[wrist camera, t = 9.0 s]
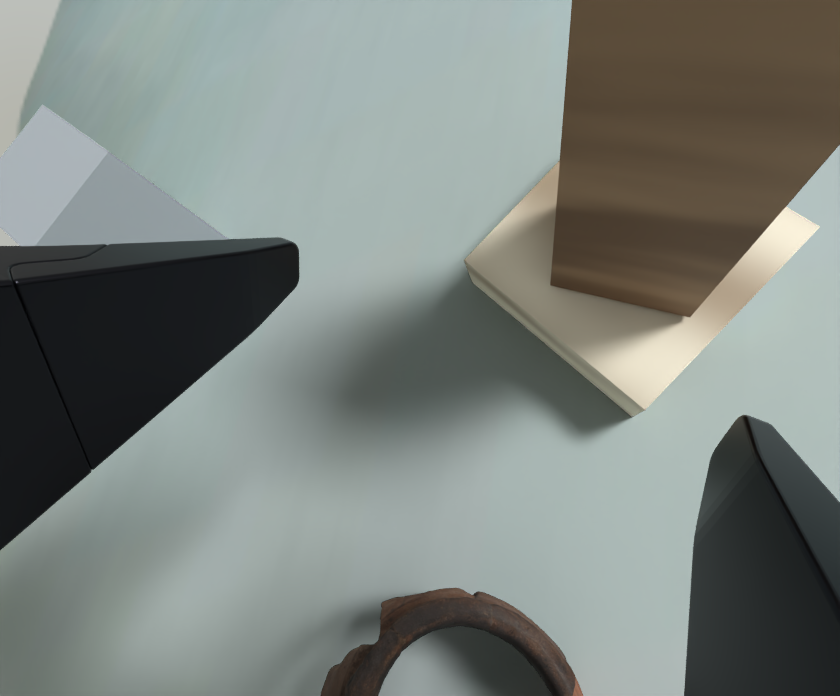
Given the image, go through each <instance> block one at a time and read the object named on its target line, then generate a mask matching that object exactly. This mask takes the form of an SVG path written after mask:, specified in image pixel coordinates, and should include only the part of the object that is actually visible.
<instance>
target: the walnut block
mask: <svg viewBox="0 0 840 696" xmlns="http://www.w3.org/2000/svg"><path fill="white" fill-rule="evenodd" d="M839 145H840V0H572V9H571V22H570V35H569V48H568V61H567V74H566V87H565V100H564V113H563V126H562V139H561V152H560V165H559V178H558V191H557V204H556V217H555V230H554V243H553V256H552V268H551V281H550V285H551V286H555V287H559V288H564V289H568V290H572V291H577V292H581V293H585V294H590V295H594V296H598V297H603V298H607V299H611V300H616V301H620V302H624V303H629V304H633V305H637V306H642V307H646V308H651V309H655V310H659V311H664V312H668V313H672V314H677V315H681V316H685V317H691V316H692V315H693V313H694V312H695V311H696V310H697V309H698V308H699V306H700V305H701V304H702V303H703V302H704V301H705V300H706V298H707V297H708V296H709V295H710V294H711V293H712V291H713V290H714V289H715V288H716V287H717V286H718V285H719V283H720V282H721V281H722V280H723V279H724V278H725V276H726V275H727V274H728V273H729V272H730V271H731V269H732V268H733V267H734V266H735V265H736V264H737V263H738V261H739V260H740V259H741V258H742V257H743V256H744V254H745V253H746V252H747V251H748V250H749V249H750V248H751V246H752V245H753V244H754V243H755V242H756V241H757V239H758V238H759V237H760V236H761V235H762V234H763V233H764V231H765V230H766V229H767V228H768V227H769V226H770V224H771V223H772V222H773V221H774V220H775V219H776V217H777V216H778V215H779V214H780V213H781V212H782V211H783V209H784V208H785V207H786V206H787V205H788V204H789V202H790V201H791V200H792V199H793V198H794V197H795V196H796V194H797V193H798V192H799V191H800V190H801V189H802V187H803V186H804V185H805V184H806V183H807V182H808V180H809V179H810V178H811V177H812V176H813V175H814V174H815V172H816V171H817V170H818V169H819V168H820V167H821V165H822V164H823V163H824V162H825V161H826V160H827V159H828V157H829V156H830V155H831V154H832V153H833V152H834V150H835V149H836V148H837V147H838V146H839Z"/></svg>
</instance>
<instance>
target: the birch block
mask: <svg viewBox="0 0 840 696" xmlns="http://www.w3.org/2000/svg"><path fill="white" fill-rule="evenodd" d="M559 165H560V161H559V162H558V163H557V164H556V165H555V166H554V167H553V168H552V169H551V170H550V171H549V172H548V173H547V174H546V175H545V176H544V177H543V178H542V179H541V180H540V181H539V183H538V184H537V185H536V186H535V187H534V188H533V189H532V190H531V191H530V192H529V193H528V194H527V195H526V196H525V197H524V198H523V199H522V200H521V201H520V202H519V203H518V204H517V205H516V206H515V207H514V209H513V210H512V211H511V212H510V213H509V214H508V215H507V216H506V217H505V218H504V219H503V220H502V221H501V222H500V223H499V224H498V225H497V226H496V227H495V228H494V229H493V230H492V231H491V232H490V233H489V235H488V236H487V237H486V238H485V239H484V240H483V241H482V242H481V243H480V244H479V245H478V246H477V247H476V248H475V249H474V250H473V251H472V252H471V253H470V254H469V255H468V256H467V257H466V258H465V259H464V261H465V264H466V267H467V269H468V272H469V275H470V277H471V280H472V282H473V283H474V284H475V285H476V286H477V287H479V288H480V289H481V290H482V291H483V292H484V293H486V294H487V295H488V296H489V297H490V298H492V299H493V300H494V301H495V302H496V303H497V304H499V305H500V306H501V307H502V308H503V309H505V310H506V311H507V312H508V313H509V314H511V315H512V316H513V317H514V318H515V319H516V320H518V321H519V322H520V323H521V324H522V325H524V326H525V327H526V328H527V329H528V330H529V331H531V332H532V333H533V334H534V335H535V336H537V337H538V338H539V339H540V340H541V341H543V342H544V343H545V344H546V345H547V346H548V347H550V348H551V349H552V350H553V351H554V352H556V353H557V354H558V355H559V356H560V357H561V358H563V359H564V360H565V361H566V362H567V363H569V364H570V365H571V366H572V367H573V368H575V369H576V370H577V371H578V372H579V373H580V374H582V375H583V376H584V377H585V378H586V379H588V380H589V381H590V382H591V383H592V384H593V385H595V386H596V387H597V388H598V389H599V390H601V391H602V392H603V393H604V394H605V395H607V396H608V397H609V398H610V399H611V400H612V401H614V402H615V403H616V404H617V405H618V406H620V407H621V408H622V409H623V410H624V411H625V412H627V413H628V414H629V415H630V416H631V417H634V416H635V415H637V414H639V413H641V412H642V411H644V410H646V408H647V407H648V406H649V405H650V404H651V403H652V402H653V401H654V400H655V399H656V398H657V397H658V396H659V395H660V394H661V393H662V392H663V391H664V390H665V389H666V388H667V387H668V385H669V384H670V383H671V382H672V381H673V380H674V379H675V378H676V377H677V376H678V375H679V374H680V373H681V372H682V371H683V370H684V369H685V368H686V367H687V366H688V365H689V364H690V362H691V361H692V360H693V359H694V358H695V357H696V356H697V355H698V354H699V353H700V352H701V351H702V350H703V349H704V348H705V347H706V346H707V345H708V344H709V343H710V342H711V340H712V339H713V338H714V337H715V336H716V335H717V334H718V333H719V332H720V331H721V330H722V329H723V328H724V327H725V326H726V325H727V324H728V323H729V322H730V321H731V320H732V319H733V317H734V316H735V315H736V314H737V313H738V312H739V311H740V310H741V309H742V308H743V307H744V306H745V305H746V304H747V303H748V302H749V301H750V300H751V299H752V298H753V297H754V295H755V294H756V293H757V292H758V291H759V290H760V289H761V288H762V287H763V286H764V285H765V284H766V283H767V282H768V281H769V280H770V279H771V278H772V277H773V276H774V275H775V274H776V272H777V271H778V270H779V269H780V268H781V267H782V266H783V265H784V264H785V263H786V262H787V261H788V260H789V259H790V258H791V257H792V256H793V255H794V254H795V253H796V252H797V251H798V249H799V248H800V247H801V246H802V245H803V244H804V243H805V242H806V241H807V240H808V239H809V238H810V237H811V236H812V235H813V234H814V233H815V232H816V231H817V230H818V229H819V226H818V225H816V224H814V223H813V222H811V221H809V220H808V219H806V218H804V217H802V216H801V215H799V214H797V213H796V212H794V211H792V210H791V209H789V208H787V207H785V208H784V209H783V211H782V212H781V213H780V214H779V215H778V216H777V217H776V219H775V220H774V221H773V222H772V223H771V224H770V226H769V227H768V228H767V229H766V230H765V231H764V233H763V234H762V235H761V236H760V237H759V238H758V239H757V241H756V242H755V243H754V244H753V245H752V246H751V248H750V249H749V250H748V251H747V252H746V253H745V254H744V256H743V257H742V258H741V259H740V260H739V261H738V263H737V264H736V265H735V266H734V267H733V268H732V269H731V271H730V272H729V273H728V274H727V275H726V276H725V278H724V279H723V280H722V281H721V282H720V283H719V285H718V286H717V287H716V288H715V289H714V290H713V291H712V293H711V294H710V295H709V296H708V297H707V298H706V300H705V301H704V302H703V303H702V304H701V305H700V306H699V308H698V309H697V310H696V311H695V312H694V313H693V315H692V316H691V317H685V316H681V315H677V314H672V313H668V312H664V311H659V310H655V309H651V308H646V307H642V306H637V305H633V304H629V303H624V302H620V301H616V300H611V299H607V298H603V297H598V296H594V295H590V294H585V293H581V292H577V291H572V290H568V289H564V288H559V287H555V286H551V285H550V281H551V268H552V256H553V243H554V230H555V217H556V204H557V191H558V178H559Z"/></svg>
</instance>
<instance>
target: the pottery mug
mask: <svg viewBox="0 0 840 696" xmlns="http://www.w3.org/2000/svg"><path fill="white" fill-rule="evenodd" d="M381 607H382V611H381V618H380V620H381V627H380V635H379V640H378V641H377V642H376V643H375V644H373V645H360V646H359V647H358V648H355V649H353V650H351V651H350V652H349V653H348V654H347V655H346V657H345V658H344V660H343V661H342V662H341V663H340V664H338V665H335V666H333V667H332V668H331V669H330V670H329V672H328V675H327V678H326V680H325V683H324V686H323V689H322V692H321V696H378V694H379V692H380V689H381V686H382V684H383V681H384V679H385V677H386V676H387V674H388V672H389V670H390V669H391V667H392V665H393V664H394V662H395V661H396V659H397V658H398V657H399V656H400V654H401V652H402V651H403V650H404V649H406V648H407V647H408V646H409V645H410V644H412V643H413V642H414V641H416V640H417V639H419V638H420V637H422V636H424V635H426V634H428V633H430V632H432V631H435V630H438V629H442V628H447V627H456V626H464V627H472V628H477V629H481V630H485V631H487V632H489V633H491V634H493V635H495V636H498V637H500V638H501V639H503V640H504V641H506V642H508V643H509V644H511V645H512V646H513V647H515V648H516V649H517V650H518V651H519V652H520V653H521V654H522V655H523V656H524V657H525V658H526V659H527V660H528V661H529V663H530V664H531V665H532V666H533V667H534V668H535V670H536V671H537V672H538V674H539V675H540V677H541V678H542V679H543V681H544V682H545V684H546V686H547V688H548V689H549V691H550V693H551V695H552V696H583V694H582V691H581V689H580V686H579V684H578V681H577V679H576V677H575V675H574V673H573V671H572V669H571V667H570V666H569V664H568V663H567V661H566V658H565V656H564V654H563V652H562V651H561V650H560V648H559V647H558V646H557V645H556V643H555V642H554V641H552V639H551V638H550V637H549V636H548V635H547V634H546V633H545V632H544V631H543V630H542V629H540V628H539V627H538V626H537V625H536V624H535V623H534V622H533V621H532V620H531V619H529V618H528V617H527V616H526V615H525V614H523V613H522V612H520V611H519V610H518V609H516V608H514V607H513V606H511V605H510V604H508V603H506V602H504V601H502V600H500V599H498V598H495V597H493V596H491V595H489V594H486V593H483V592H476V593H475V594H474V595H471V594H469V593H467V592H465V591H464V590H462V589H459V588H446V589H438V590H434V591H428V592H426V593H421V594H415V595H410V596H405V597H396V598H393V599H390V600H387V601H384V602H382V604H381Z"/></svg>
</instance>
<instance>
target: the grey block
mask: <svg viewBox="0 0 840 696" xmlns="http://www.w3.org/2000/svg"><path fill="white" fill-rule="evenodd" d="M0 228H1V229H2V230H3V231H5V232H6V233H7V234H8V235H9V236H10V237H11V238H12V239H13V240H14V241H15V242H16V243H17V244H19V245H20V246H61V245H93V244H106V245H109V244H121V243H147V242H173V241H200V240H226V239H228V238H227V237H225V236H224V235H223V234H221V233H220V232H219V231H217V230H216V229H214V228H213V227H212V226H210V225H209V224H208V223H206V222H205V221H204V220H202V219H201V218H199V217H198V216H197V215H195V214H194V213H193V212H191V211H190V210H188V209H187V208H186V207H184V206H183V205H182V204H180V203H179V202H177V201H176V200H175V199H173V198H172V197H171V196H169V195H168V194H167V193H165V192H164V191H162V190H161V189H160V188H158V187H157V186H156V185H154V184H153V183H151V182H150V181H149V180H147V179H146V178H145V177H143V176H142V175H140V174H139V173H138V172H136V171H135V170H134V169H132V168H131V167H130V166H128V165H127V164H125V163H124V162H123V161H121V160H120V159H119V158H117V157H116V156H114V155H113V154H112V153H110V152H109V151H108V150H106V149H105V148H103V147H102V146H100V145H99V144H98V143H96V142H95V141H93V140H92V139H91V138H89V137H88V136H86V135H85V134H83V133H82V132H81V131H79V130H78V129H76V128H75V127H74V126H72V125H71V124H69V123H68V122H67V121H65V120H64V119H62V118H61V117H59V116H58V115H57V114H55V113H54V112H52V111H51V110H50V109H48V108H47V107H45V106H44V105H42V106H41V107H40V109H39V110H38V111H37V112H36V114H35V115H34V116H33V117H32V119H31V120H30V121H29V122H28V124H27V125H26V126H25V127H24V129H23V130H22V131H21V132H20V134H19V135H18V136H17V137H16V139H15V140H14V141H13V143H12V144H11V145H10V146H9V148H8V149H7V150H6V151H5V153H4V154H3V155H2V156H1V158H0Z"/></svg>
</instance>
